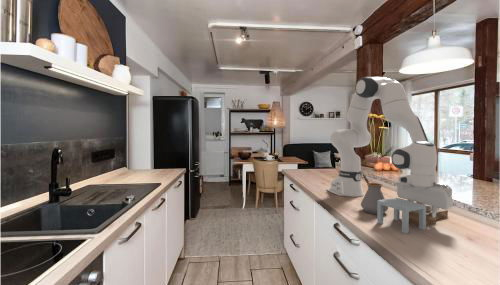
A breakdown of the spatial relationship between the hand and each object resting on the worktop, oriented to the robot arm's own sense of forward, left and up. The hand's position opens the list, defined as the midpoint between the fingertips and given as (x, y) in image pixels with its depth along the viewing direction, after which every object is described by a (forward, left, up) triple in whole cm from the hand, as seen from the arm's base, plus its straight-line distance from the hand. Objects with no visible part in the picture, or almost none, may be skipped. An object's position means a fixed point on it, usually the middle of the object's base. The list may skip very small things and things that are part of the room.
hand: (422, 213), depth 100 cm
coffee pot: (-21, -6, -3) cm, 22 cm away
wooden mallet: (0, +4, -3) cm, 5 cm away
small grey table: (0, -13, -3) cm, 13 cm away
